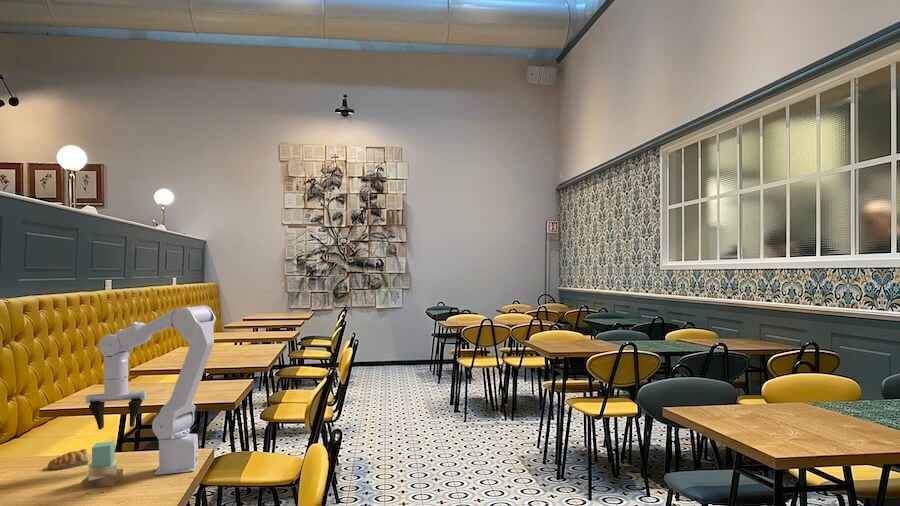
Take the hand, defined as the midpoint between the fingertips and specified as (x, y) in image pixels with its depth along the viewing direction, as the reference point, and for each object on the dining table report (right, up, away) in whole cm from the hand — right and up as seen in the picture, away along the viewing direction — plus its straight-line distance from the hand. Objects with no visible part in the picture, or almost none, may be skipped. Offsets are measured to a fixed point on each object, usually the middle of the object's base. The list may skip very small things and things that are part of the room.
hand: (116, 427), depth 158 cm
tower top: (+4, -8, -13) cm, 15 cm away
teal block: (+4, -6, -12) cm, 14 cm away
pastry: (-13, -11, +1) cm, 17 cm away
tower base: (+4, -11, -13) cm, 17 cm away
